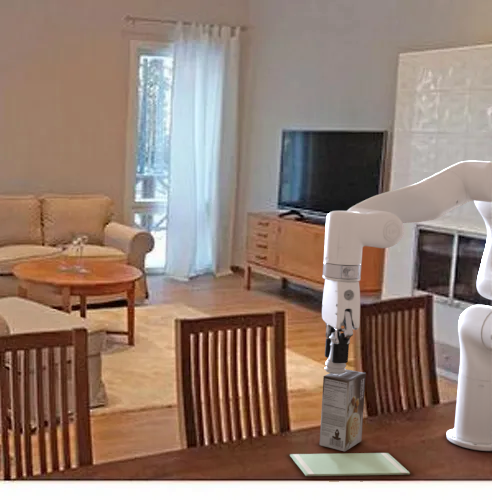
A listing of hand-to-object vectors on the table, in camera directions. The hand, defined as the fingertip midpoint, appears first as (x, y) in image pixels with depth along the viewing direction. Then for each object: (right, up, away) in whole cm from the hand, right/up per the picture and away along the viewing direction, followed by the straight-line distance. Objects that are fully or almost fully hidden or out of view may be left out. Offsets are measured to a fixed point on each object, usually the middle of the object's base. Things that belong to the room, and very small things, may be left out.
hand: (336, 359), depth 173 cm
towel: (+3, -23, +3) cm, 23 cm away
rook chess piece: (0, -3, 0) cm, 3 cm away
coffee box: (+5, -21, +16) cm, 27 cm away
